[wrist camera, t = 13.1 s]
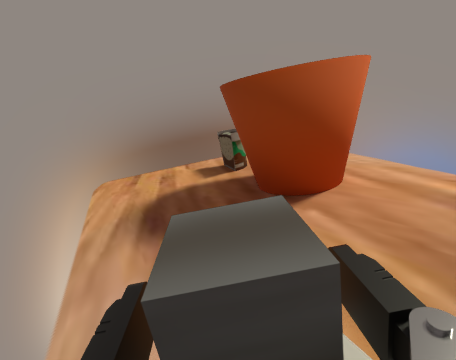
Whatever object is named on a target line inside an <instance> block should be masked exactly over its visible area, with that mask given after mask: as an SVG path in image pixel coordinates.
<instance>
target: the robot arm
mask: <svg viewBox="0 0 456 360" xmlns="http://www.w3.org/2000/svg"><path fill="white" fill-rule="evenodd" d="M328 250H329V251H330V252H331V253H332V254H333V255H334V257H335V258H336V259H337V260H338V261H339V262H340V277H341V303H342V304H343V305H344V307H345V308H346V310H347V311H348V313H349V314H350V316H351V317H352V319H353V320H354V322H355V323H356V324H357V326H358V327H359V329H360V330H361V332H362V333H363V335H364V336H365V338H366V339H367V341H368V342H369V343H370V345H371V346H372V348H373V349H374V351H375V352H376V354H377V355H378V357H379V358H380V360H456V317H454V316H453V315H451V314H449V313H447V312H445V311H442V310H439V309H436V308H431V307H426V306H425V305H424V304H423V303H422V302H421V301H420V300H419V299H417V298H416V297H415V296H414V295H413V294H412V293H411V292H410V291H409V290H408V289H406V288H405V287H404V286H403V285H402V284H401V283H400V282H399V281H398V280H397V279H395V278H393V276H392V275H391V274H390V273H389V272H388V271H387V270H386V271H385V269H384V268H383V267H382V266H381V265H380V264H379V263H378V262H377V261H376V260H374V259H372V258H370V257H368V256H366V255H364V254H358V255H357V254H356V253H355V252H354V251H353V250H352V249H351V248H350V247H349V246H348V245H346V244H345V245H340V246H334V247H329V248H328ZM147 283H148V282H141V283H136V284H131V285H128V286H127V288H126V290H125V292H124V294H123V296H122V298H121V299H119V300H116V301H115V302H114V303H113V304H112V305H111V306H110V307H109V308H108V309H107V311H106V312H105V314H104V316H103V318H102V320H101V322H100V325H99V326H98V327H97V329H96V331H95V335H93V337H92V339H91V341H90V343H89V345H88V346H87V348H86V350H85V352H84V354H83V356H82V358H81V360H149V356H150V352H151V348H152V344H153V337H152V334H151V331H150V328H149V325H148V322H147V319H146V316H145V313H144V310H143V307H142V304H141V299H142V297H143V294H144V291H145V288H146V286H147Z"/></svg>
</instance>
